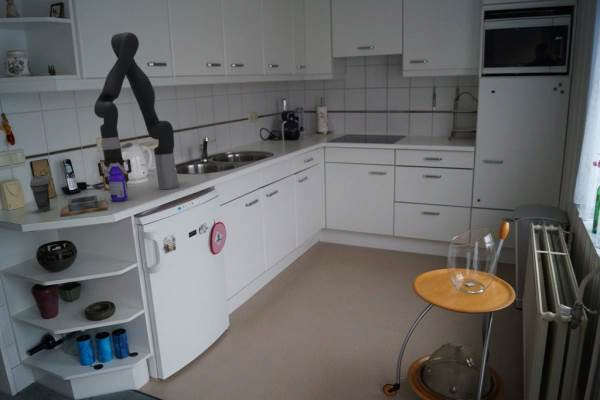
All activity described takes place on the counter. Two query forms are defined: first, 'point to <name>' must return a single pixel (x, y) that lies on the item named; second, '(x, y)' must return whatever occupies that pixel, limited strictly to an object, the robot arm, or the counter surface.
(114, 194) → the bottle
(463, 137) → the counter surface
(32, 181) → the beverage cup
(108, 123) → the robot arm
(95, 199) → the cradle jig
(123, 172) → the baking soda box
